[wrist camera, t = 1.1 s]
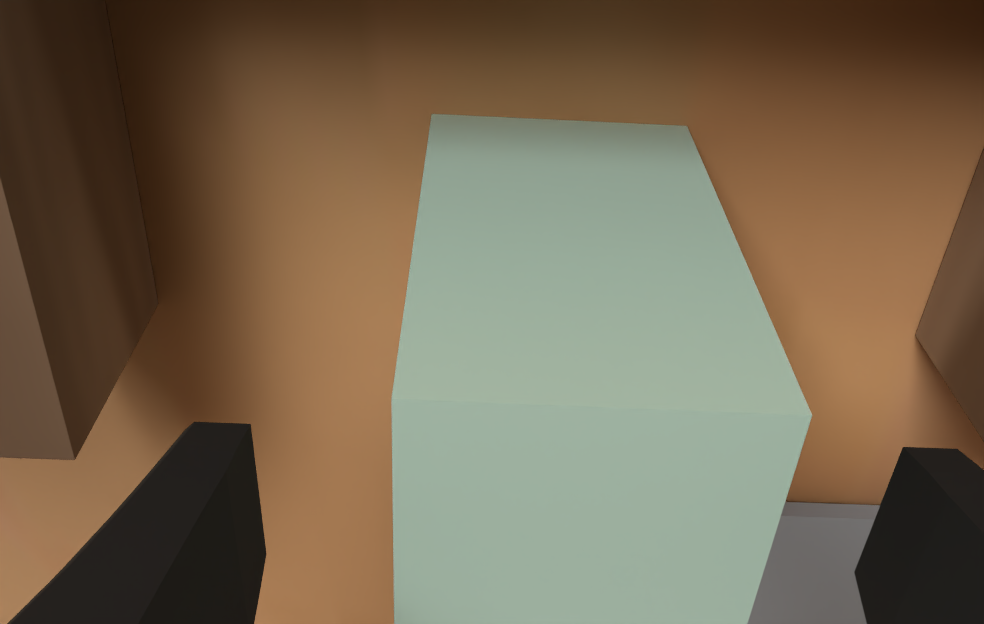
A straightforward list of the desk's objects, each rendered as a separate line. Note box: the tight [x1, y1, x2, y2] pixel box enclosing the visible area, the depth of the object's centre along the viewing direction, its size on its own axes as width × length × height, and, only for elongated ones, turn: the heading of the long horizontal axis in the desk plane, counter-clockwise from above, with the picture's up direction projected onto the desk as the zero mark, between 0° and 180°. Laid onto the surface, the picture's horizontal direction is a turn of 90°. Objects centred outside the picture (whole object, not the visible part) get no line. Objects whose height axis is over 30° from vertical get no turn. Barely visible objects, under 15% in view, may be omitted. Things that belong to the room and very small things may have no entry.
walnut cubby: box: [0, 0, 984, 460], centre depth 13 cm, size 16×9×4 cm, turn 87°
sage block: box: [392, 114, 812, 624], centre depth 13 cm, size 4×4×7 cm
